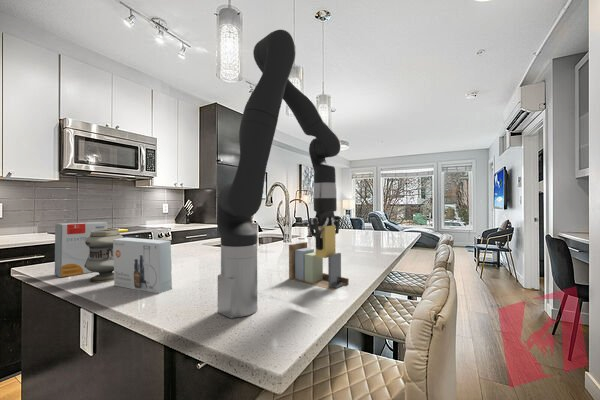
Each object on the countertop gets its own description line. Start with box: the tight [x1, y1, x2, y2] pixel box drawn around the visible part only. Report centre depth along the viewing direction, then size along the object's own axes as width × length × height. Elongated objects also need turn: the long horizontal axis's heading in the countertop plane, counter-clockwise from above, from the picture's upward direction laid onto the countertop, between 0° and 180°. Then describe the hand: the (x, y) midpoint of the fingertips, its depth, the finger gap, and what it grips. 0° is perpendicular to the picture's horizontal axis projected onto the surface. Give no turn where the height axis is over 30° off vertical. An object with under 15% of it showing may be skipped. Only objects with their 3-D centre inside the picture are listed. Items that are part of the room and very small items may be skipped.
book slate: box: [295, 247, 315, 281], centre depth 100 cm, size 6×4×10 cm
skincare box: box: [113, 236, 173, 294], centre depth 93 cm, size 21×6×16 cm, turn 68°
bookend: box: [327, 252, 347, 290], centre depth 90 cm, size 6×3×10 cm, turn 137°
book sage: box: [304, 251, 324, 283], centre depth 97 cm, size 6×4×9 cm, turn 137°
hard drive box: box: [54, 221, 108, 278], centre depth 114 cm, size 16×8×20 cm, turn 143°
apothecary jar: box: [85, 228, 125, 283], centre depth 104 cm, size 12×12×18 cm
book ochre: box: [315, 225, 337, 259], centre depth 93 cm, size 6×4×10 cm
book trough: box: [288, 241, 350, 291], centre depth 96 cm, size 8×19×13 cm, turn 47°
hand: (325, 248), depth 93 cm, fingers closed on book ochre, 5 cm apart
